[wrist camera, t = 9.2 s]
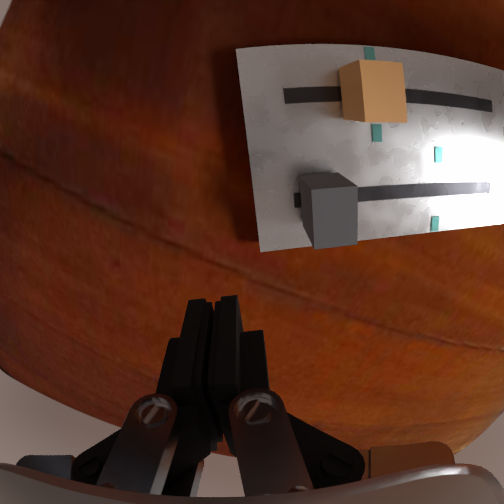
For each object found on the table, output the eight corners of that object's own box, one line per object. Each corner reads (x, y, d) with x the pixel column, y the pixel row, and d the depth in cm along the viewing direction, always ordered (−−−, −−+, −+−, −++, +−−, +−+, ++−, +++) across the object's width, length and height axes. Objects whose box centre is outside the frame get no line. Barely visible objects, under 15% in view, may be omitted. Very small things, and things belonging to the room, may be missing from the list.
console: (495, 71, 20) (508, 71, 18) (492, 217, 27) (504, 224, 25) (236, 53, 21) (235, 48, 19) (259, 242, 28) (260, 252, 26)
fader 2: (375, 69, 19) (402, 62, 15) (380, 119, 21) (407, 122, 17) (338, 67, 19) (359, 59, 15) (343, 119, 21) (365, 122, 17)
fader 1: (338, 172, 23) (357, 185, 19) (339, 221, 24) (357, 244, 20) (299, 175, 23) (311, 189, 19) (302, 225, 24) (314, 249, 20)
